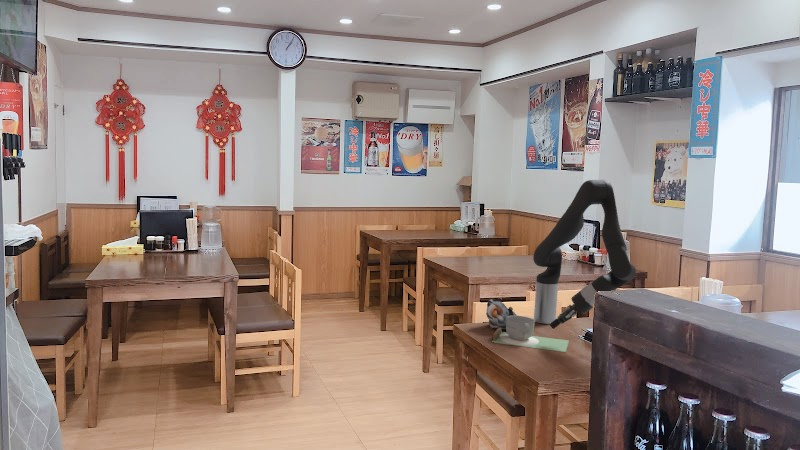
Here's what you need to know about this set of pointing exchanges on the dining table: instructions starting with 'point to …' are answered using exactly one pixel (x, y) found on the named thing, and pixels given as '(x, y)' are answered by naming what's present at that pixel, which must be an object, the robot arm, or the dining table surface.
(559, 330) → the dining table surface
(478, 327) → the dining table surface
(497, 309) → the lucky cat figurine
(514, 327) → the teacup
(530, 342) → the putting green
